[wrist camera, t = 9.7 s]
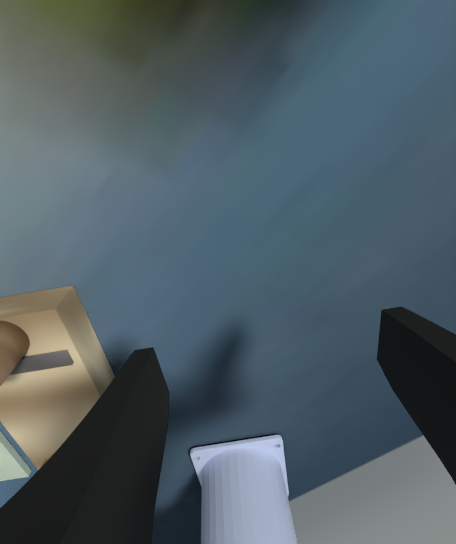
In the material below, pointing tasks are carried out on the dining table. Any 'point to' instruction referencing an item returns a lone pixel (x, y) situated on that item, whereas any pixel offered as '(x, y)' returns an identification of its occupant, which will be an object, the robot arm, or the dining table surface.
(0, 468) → the mat
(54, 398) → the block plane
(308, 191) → the dining table surface
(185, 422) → the dining table surface
